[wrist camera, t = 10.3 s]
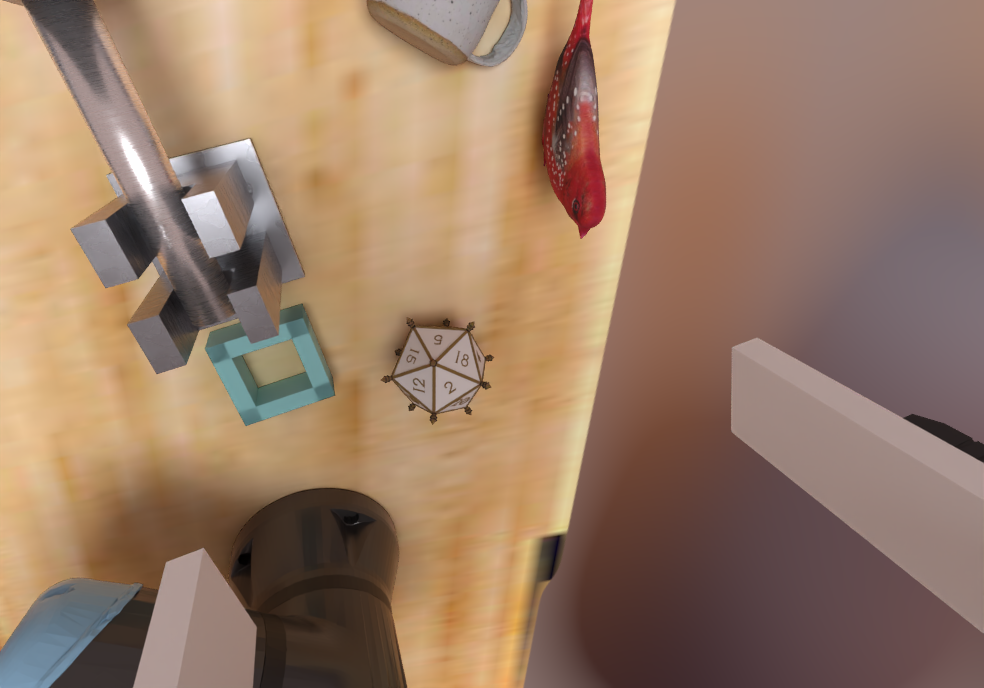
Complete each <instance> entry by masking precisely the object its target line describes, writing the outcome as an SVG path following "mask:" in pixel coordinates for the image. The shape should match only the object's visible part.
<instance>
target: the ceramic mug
mask: <svg viewBox="0 0 984 688" xmlns="http://www.w3.org/2000/svg"><path fill="white" fill-rule="evenodd" d="M499 1H500V0H367V6H368V9H369V12H370V14H371V16H372V17H373V18H374V19H375V20H376V21H377V22H379V23H380V24H381V25H382V26H384V27H385V28H387V29H388V30H389V31H391V32H392V33H394V34H395V35H397V36H398V37H400V38H401V39H403V40H405V41H406V42H408V43H409V44H411V45H413V46H415V47H416V48H418V49H420V50H421V51H423V52H425V53H427V54H429V55H430V56H432V57H434V58H436V59H438V60H440V61H442V62H445V63H447V64H450V65H459V64H462V63H464V62H465V61H466V60H468V61H470V62H473V63H476V64H478V65H483V66H495V65H497V64H500V63H502V62H503V61H505V60H506V59H507V58H508V57H509V56H510V55H511V54H512V53H513V52H514V50H515V49H516V47H517V46H518V44H519V42H520V40H521V38H522V36H523V33H524V31H525V27H526V23H527V1H526V0H511V3H512V13H511V17H510V22H509V24H508V26H507V28H506V30H505V32H504V33H503V35H502V37H501V38H500V40H499V42H498V43H497V44H496V45H494V48H493V50H492V52H491V53H489V54H488V55H485V56H480V57H477V56H474V55H473V54H472V52H473V51H474V49H475V48H476V46H477V44H478V43H479V41H480V39H481V37H482V35H483V33H484V31H485V29H486V27H487V24H488V22H489V20H490V18H491V15H492V14H493V12H494V10H495V8H496V6H497V4H498V3H499Z"/></svg>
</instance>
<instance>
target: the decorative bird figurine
mask: <svg viewBox="0 0 984 688" xmlns="http://www.w3.org/2000/svg"><path fill="white" fill-rule="evenodd" d="M592 4H593V0H581V1H580V5H579V9H578V14H577V18H576V21H575V24H574V27H573V30H572V32H571V35H570V37H569V39H568V41H567V43H566V45H565V47H564V49H563V51H562V53H561V55H560V57H559V60H558V62H557V66H556V70H555V75H554V78H553V82H552V86H551V89H550V93H549V94H548V100H547V105H546V112H545V119H544V128H543V135H542V145H543V148H544V166H545V164H546V166H547V171H548V175H549V178H550V182H551V185H552V187H553V190H554V192H555V194H556V196H557V197H558V199H559V200H560V202H561V203H562V205H563V206H564V207H565V209H566V211H567V213H568V215H569V216H570V218H571V219H572V220H573V221H574V222H575V223H576V224H577V225H578V228H579V233H580V239H582V238H583V237H584V236H585V235H586V234H587V232H588V231H589V230H590V228H593V227H595V226H596V225H598V224H599V223H600V222H601V220H602V218H603V216H604V213H605V209H606V184H605V178H604V174H603V170H602V166H601V161H600V148H599V118H598V95H597V85H596V75H595V67H594V60H593V53H592V49H591V44H590V39H589V31H590V20H591V12H592Z"/></svg>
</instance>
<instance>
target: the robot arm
mask: <svg viewBox="0 0 984 688" xmlns="http://www.w3.org/2000/svg"><path fill="white" fill-rule="evenodd" d="M731 401H732V403H731V405H732V407H731V409H732V410H731V432H733V433H734V434H735V435H736V436H737V437H739V438H740V439H741V440H743V441H744V442H745V443H746V444H748V445H749V446H750V447H751V448H752V449H754V450H755V451H756V452H757V453H759V454H760V455H761V456H762V457H764V458H765V459H766V460H767V461H769V462H770V463H771V464H772V465H774V466H775V467H776V468H777V469H779V470H780V471H781V472H783V473H784V474H785V475H786V476H787V477H789V478H790V479H792V481H794V482H795V483H796V484H797V485H799V486H800V487H801V488H802V489H804V490H805V491H806V492H807V493H809V494H810V495H811V496H812V497H814V498H815V499H816V500H817V501H819V502H820V503H821V504H822V505H824V506H825V507H827V509H829V510H830V511H831V512H832V513H834V514H835V515H836V516H837V517H839V518H840V519H841V520H843V521H844V522H845V523H846V524H847V525H849V526H850V527H851V528H852V529H854V530H855V531H856V532H857V533H859V534H860V535H861V536H862V537H864V538H865V539H866V540H867V541H869V542H870V543H871V544H872V545H874V546H875V547H876V548H877V549H879V550H880V551H881V552H882V553H884V554H885V555H886V556H887V557H889V558H890V559H891V560H892V561H894V562H895V563H896V564H897V565H899V566H900V567H901V568H902V569H904V570H905V571H906V572H907V573H909V574H910V575H911V576H912V577H914V578H915V579H916V580H917V581H919V582H920V583H921V584H922V585H924V586H925V587H926V588H927V589H929V590H930V591H931V592H933V593H934V594H935V595H936V596H937V597H939V598H940V599H941V600H942V601H944V602H945V603H946V604H947V605H949V606H950V607H951V608H952V609H954V610H955V611H956V612H957V613H959V614H960V615H961V616H962V617H964V618H965V619H966V620H967V621H969V622H970V623H971V624H972V625H974V626H975V627H976V628H977V629H979V630H980V631H981V632H982V633H984V444H982V443H980V442H979V441H978V442H974V441H973V440H972V438H971V437H969V436H967V435H965V434H963V433H961V432H959V431H958V430H956V429H954V428H952V427H950V426H948V425H946V424H944V423H941V422H938V421H934V420H931V419H928V418H924V417H921V416H918V415H914V414H911V415H909V416H907V417H905V418H901V417H900V416H898V415H896V414H894V413H892V412H891V411H888V410H887V409H885V408H883V407H882V406H880V405H878V404H876V403H874V402H872V401H871V400H869V399H867V398H865V397H863V396H862V395H860V394H858V393H856V392H854V391H853V390H851V389H849V388H847V387H845V386H843V385H842V384H840V383H838V382H836V381H834V380H833V379H831V378H829V377H827V376H826V375H824V374H822V373H820V372H818V371H817V370H815V369H813V368H811V367H809V366H807V365H805V364H804V363H802V362H800V361H798V360H797V359H795V358H793V357H791V356H789V355H787V354H786V353H784V352H782V351H780V350H778V349H777V348H775V347H773V346H771V345H769V344H768V343H766V342H764V341H762V340H761V339H759V338H755V339H753V340H750V341H747V342H745V343H742V344H740V345H737V346H734V347H732V398H731ZM398 562H399V546H398V541H397V536H396V532H395V527H394V524H393V522H392V520H391V518H390V516H389V515H388V513H387V512H386V511H385V510H384V509H383V508H382V507H381V506H380V505H379V504H378V503H376V502H375V501H373V500H372V499H370V498H368V497H366V496H364V495H361V494H358V493H355V492H352V491H347V490H341V489H316V490H309V491H304V492H299V493H296V494H293V495H290V496H287V497H284V498H282V499H280V500H278V501H275V502H274V503H272V504H270V505H268V506H267V507H265V508H264V509H262V510H261V511H260V512H258V513H257V514H256V515H255V516H254V517H252V518H251V519H250V520H249V521H248V523H247V524H246V525H245V526H244V527H243V529H242V530H241V531H240V533H239V535H238V536H237V538H236V541H235V543H234V546H233V549H232V553H231V561H230V569H229V583H230V586H229V585H228V583H227V582H226V580H225V579H224V577H223V576H222V574H221V573H220V571H219V570H218V568H217V567H216V565H215V564H214V562H213V561H212V559H211V558H210V556H209V555H208V553H207V552H206V550H205V549H204V548H202V549H199V550H197V551H194V552H191V553H189V554H186V555H184V556H181V557H178V558H176V559H173V560H170V561H168V562H166V565H165V568H164V572H163V576H162V580H161V584H160V587H159V590H155V589H150V588H146V587H142V586H143V584H140V583H134V584H132V585H128V584H121V583H114V582H107V581H100V580H93V579H87V578H72V579H67V580H64V581H61V582H59V583H57V584H55V585H53V586H51V587H50V588H48V589H47V590H46V591H44V592H43V593H42V594H41V595H40V596H39V597H38V598H37V599H36V601H35V602H34V603H33V605H32V606H31V608H30V609H29V610H28V612H27V613H26V615H25V616H24V618H23V619H22V621H21V622H20V623H19V625H18V626H17V628H16V629H15V631H14V632H13V634H12V635H11V636H10V638H9V639H8V641H7V642H6V644H5V645H4V647H3V648H2V650H1V651H0V688H407V684H406V679H405V674H404V669H403V664H402V659H401V654H400V650H399V645H398V640H397V635H396V630H395V625H394V620H393V616H392V610H391V599H392V594H393V588H394V583H395V578H396V573H397V567H398Z"/></svg>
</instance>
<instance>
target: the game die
mask: <svg viewBox="0 0 984 688" xmlns="http://www.w3.org/2000/svg"><path fill="white" fill-rule="evenodd" d="M443 322H444V323H443V324H444V326H415V325H414V322H413V319H410V318H407V324H408V326H410V327H411V330H410V332H409V335H408V337H407V340H406V342H405V344H404V347H403V349H402V350H400V349H398V350H396V351H395V352H396V355H398V356H399V359H398V361H397V363H396V366H395V368H394V371H393V373H392V375H391V376H388V375H387V376H384V377H383V378H382V379H381V381H383V382H385V383H387V382H390V381H391V380H393V382H394V383H395V384H396V385H397V386H398V387H399V388H400V389H401V391H402V392H403V393H404V394H405V395H406V396H407V397H408V398H409V400H410V401H411V402H412V404H410V406H408V407H409V411H412V410H414V409H415V407H416V406H418V407H420V408H422V409H424V410H426V411H427V412H429V413H431V414H432V415H431V416H430V421H431V423H432V425H433V424H434V423H435V422H436V421H437V420H436V418H437V417H436V414H440V413H444V412H449V411H453V410H458V409H462V408H464V409H465V412H466V414H469V415H471V412H472V410H471V409H470V407H468V405H469V403H470V402H471V400H472V399H473V397H474V396H475V394H476V393H477V391H478V390H479V388H480V387H481V386H482V387H483V388H485V389H488V388H491V386H490V384H489V382H488V383H487V382H483V376H484V368H485V361H492V359H493V358H494V357H493V356H491V355H487V356H486V357H484V355H483V353H482V352H481V350H480V348H479V347H478V345H477V343H476V341H475V340H474V338H473V336H472V334H471V333H470V331H471V330H473V328H475V326H474V322H471V323H469V325H467V328H466V329H464V328H457V327H451V326H449V323H450V321H449V320H448V319H446V320H445V321H443ZM415 405H416V406H415Z"/></svg>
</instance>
